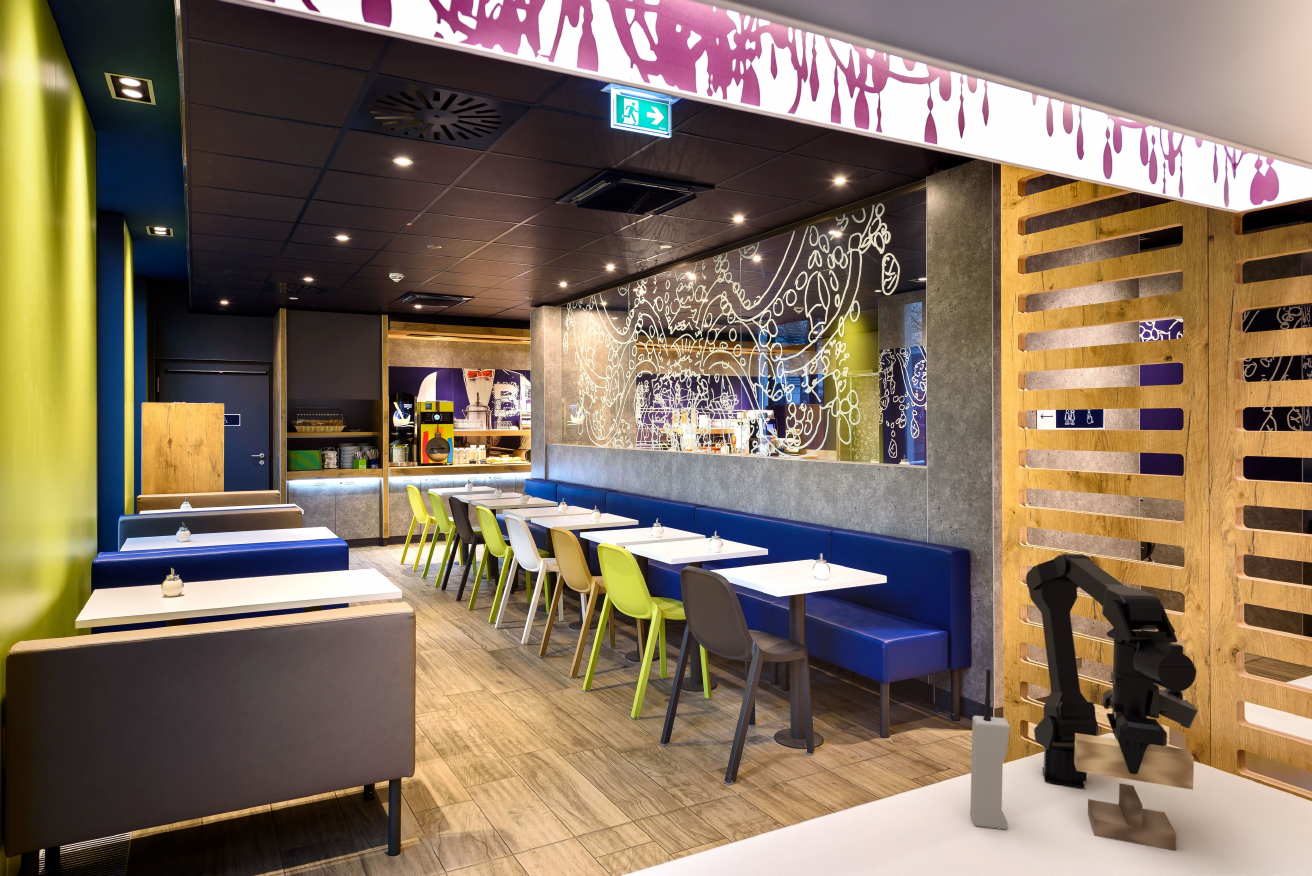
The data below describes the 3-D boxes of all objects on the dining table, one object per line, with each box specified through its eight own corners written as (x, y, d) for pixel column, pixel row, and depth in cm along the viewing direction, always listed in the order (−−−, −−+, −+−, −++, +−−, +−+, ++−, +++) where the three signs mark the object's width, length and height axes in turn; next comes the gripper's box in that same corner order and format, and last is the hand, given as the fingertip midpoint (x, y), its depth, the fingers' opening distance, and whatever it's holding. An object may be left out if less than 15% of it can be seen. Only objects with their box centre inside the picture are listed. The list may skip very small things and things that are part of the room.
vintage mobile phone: (1007, 830, 126) (1011, 673, 126) (974, 826, 127) (978, 671, 127) (1002, 819, 130) (1005, 667, 130) (970, 816, 131) (973, 665, 131)
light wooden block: (1076, 770, 128) (1077, 740, 128) (1074, 762, 132) (1075, 732, 132) (1193, 789, 122) (1193, 757, 122) (1187, 781, 125) (1188, 749, 125)
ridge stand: (1094, 835, 125) (1095, 797, 125) (1087, 814, 133) (1088, 778, 133) (1175, 850, 121) (1176, 811, 121) (1164, 827, 128) (1165, 790, 128)
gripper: (1208, 695, 115) (1206, 803, 115) (1178, 664, 133) (1176, 757, 132) (1121, 685, 120) (1118, 788, 119) (1103, 655, 137) (1100, 745, 137)
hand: (1131, 769), depth 127 cm, fingers closed on light wooden block, 3 cm apart
